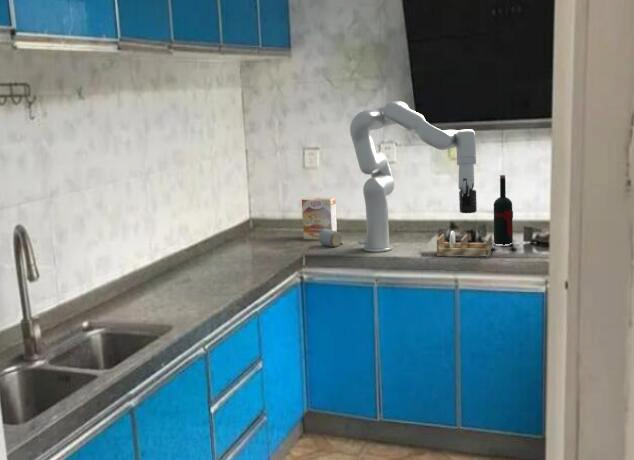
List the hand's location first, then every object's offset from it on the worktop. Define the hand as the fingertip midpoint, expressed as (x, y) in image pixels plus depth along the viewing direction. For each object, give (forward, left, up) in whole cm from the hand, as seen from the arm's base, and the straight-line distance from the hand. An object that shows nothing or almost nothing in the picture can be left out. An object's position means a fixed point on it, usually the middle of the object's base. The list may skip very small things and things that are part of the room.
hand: (468, 204), depth 290 cm
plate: (-7, 0, -21) cm, 22 cm away
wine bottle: (+12, +18, -21) cm, 30 cm away
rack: (-2, 0, -21) cm, 21 cm away
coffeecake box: (-75, +25, -21) cm, 82 cm away
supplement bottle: (0, 0, -3) cm, 3 cm away
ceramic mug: (-63, +10, -21) cm, 67 cm away
